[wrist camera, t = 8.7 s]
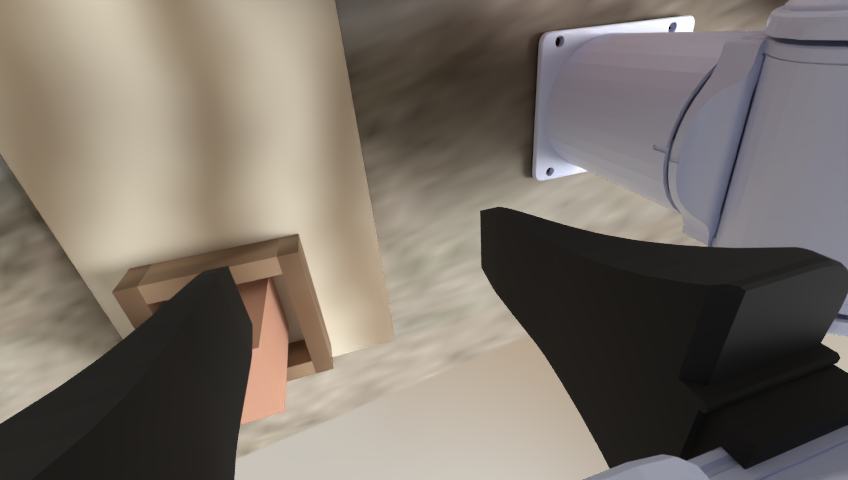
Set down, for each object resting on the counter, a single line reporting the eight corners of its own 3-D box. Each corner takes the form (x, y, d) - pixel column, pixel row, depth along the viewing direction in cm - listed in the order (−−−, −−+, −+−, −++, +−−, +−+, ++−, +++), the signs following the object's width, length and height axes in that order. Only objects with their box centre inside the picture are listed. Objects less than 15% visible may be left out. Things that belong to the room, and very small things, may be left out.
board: (329, -23, 16) (333, -35, 13) (392, 329, 26) (401, 361, 23) (-72, 7, 13) (-161, 0, 11) (169, 389, 23) (153, 432, 21)
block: (269, 269, 20) (258, 347, 15) (288, 326, 22) (285, 411, 17) (189, 287, 19) (149, 375, 14) (216, 343, 21) (189, 438, 16)
